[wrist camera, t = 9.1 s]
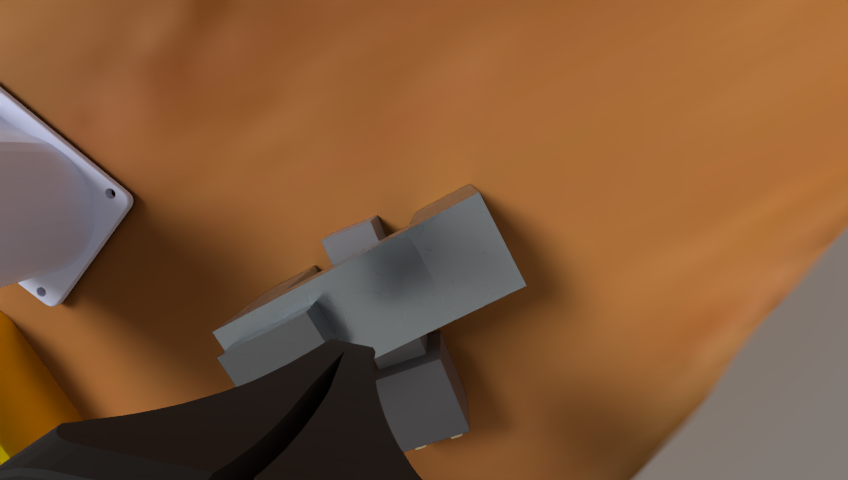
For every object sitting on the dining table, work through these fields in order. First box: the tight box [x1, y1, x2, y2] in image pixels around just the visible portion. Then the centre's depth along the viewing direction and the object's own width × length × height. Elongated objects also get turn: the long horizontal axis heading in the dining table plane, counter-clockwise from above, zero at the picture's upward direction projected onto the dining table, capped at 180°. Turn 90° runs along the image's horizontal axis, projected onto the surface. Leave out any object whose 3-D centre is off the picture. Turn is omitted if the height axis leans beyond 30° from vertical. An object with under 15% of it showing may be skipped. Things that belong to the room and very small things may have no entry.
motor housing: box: [212, 184, 527, 387], centre depth 17 cm, size 4×12×6 cm, turn 118°
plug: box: [321, 216, 470, 452], centre depth 20 cm, size 12×4×3 cm, turn 22°
